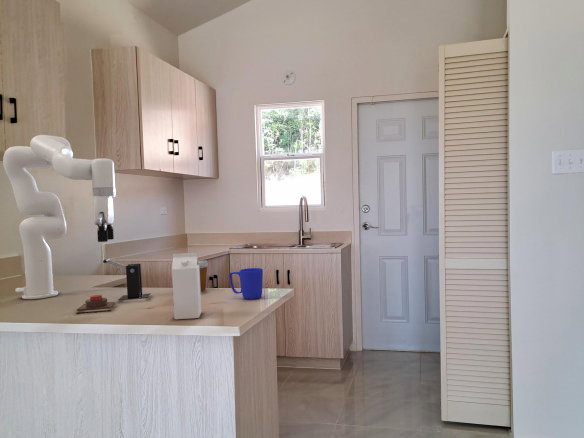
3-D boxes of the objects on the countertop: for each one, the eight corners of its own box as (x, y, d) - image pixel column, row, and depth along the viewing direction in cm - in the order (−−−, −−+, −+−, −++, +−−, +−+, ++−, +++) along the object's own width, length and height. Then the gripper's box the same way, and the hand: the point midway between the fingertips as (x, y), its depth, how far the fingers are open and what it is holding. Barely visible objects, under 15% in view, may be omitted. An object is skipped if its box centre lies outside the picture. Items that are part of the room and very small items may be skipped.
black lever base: (118, 302, 166) (116, 267, 165) (123, 298, 174) (121, 264, 173) (147, 300, 167) (145, 265, 167) (151, 296, 175) (149, 262, 175)
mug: (234, 295, 169) (233, 268, 169) (266, 295, 167) (265, 267, 167) (226, 300, 161) (225, 271, 161) (260, 300, 159) (259, 271, 158)
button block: (77, 314, 150) (76, 303, 150) (84, 308, 158) (83, 298, 158) (109, 311, 152) (109, 301, 152) (115, 306, 160) (114, 296, 160)
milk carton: (178, 314, 144) (175, 252, 143) (201, 312, 144) (198, 251, 144) (174, 320, 137) (170, 255, 136) (199, 318, 137) (195, 254, 136)
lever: (102, 264, 166) (104, 257, 166) (105, 262, 171) (107, 256, 171) (135, 275, 168) (137, 268, 168) (137, 273, 173) (139, 266, 173)
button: (89, 302, 153) (88, 297, 153) (92, 300, 157) (91, 295, 157) (100, 301, 154) (100, 296, 154) (103, 299, 157) (102, 294, 157)
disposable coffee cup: (211, 293, 175) (209, 262, 175) (185, 296, 172) (183, 264, 172) (207, 289, 184) (206, 259, 184) (183, 292, 181) (181, 261, 181)
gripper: (98, 193, 176) (100, 239, 177) (86, 193, 159) (88, 243, 160) (119, 193, 177) (121, 238, 178) (109, 192, 160) (111, 242, 161)
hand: (106, 240), depth 169 cm, fingers open, 9 cm apart
